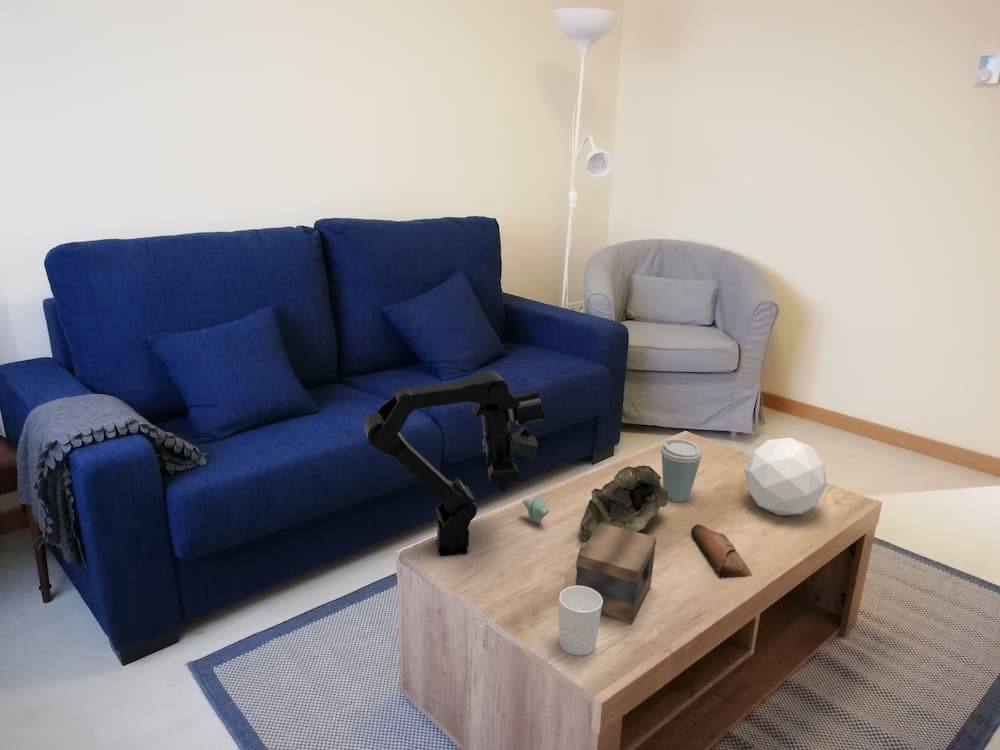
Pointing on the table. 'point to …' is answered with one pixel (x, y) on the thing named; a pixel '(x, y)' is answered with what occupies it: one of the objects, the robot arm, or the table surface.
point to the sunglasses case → (720, 553)
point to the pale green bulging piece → (536, 508)
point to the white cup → (579, 619)
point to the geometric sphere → (785, 476)
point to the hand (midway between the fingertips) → (503, 491)
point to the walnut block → (617, 570)
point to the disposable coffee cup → (679, 467)
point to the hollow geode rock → (625, 501)
